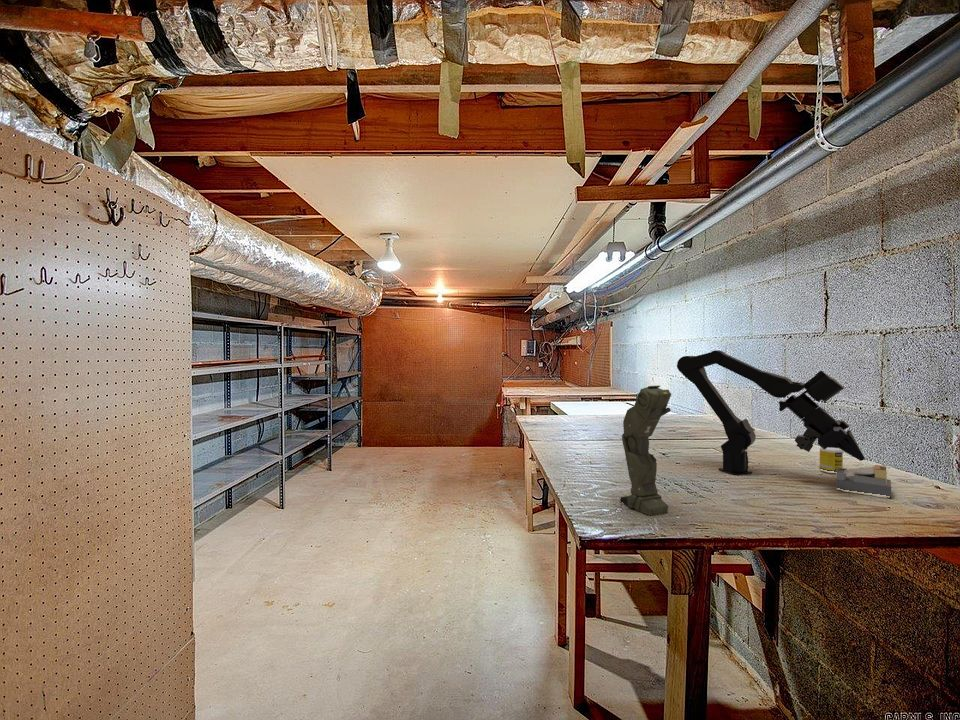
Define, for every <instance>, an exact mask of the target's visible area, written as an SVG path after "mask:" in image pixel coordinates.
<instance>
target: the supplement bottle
mask: <svg viewBox="0 0 960 720" xmlns="http://www.w3.org/2000/svg"><path fill="white" fill-rule="evenodd" d="M843 452H844V451H843V450H841V449H839V448H829V447H828V448H826V449H823V448H822V447H821V446H819V470H820V469H823V470H827V471H834V472H838V468H844V467H843V459H844V458H843V456H844V453H843Z"/></svg>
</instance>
